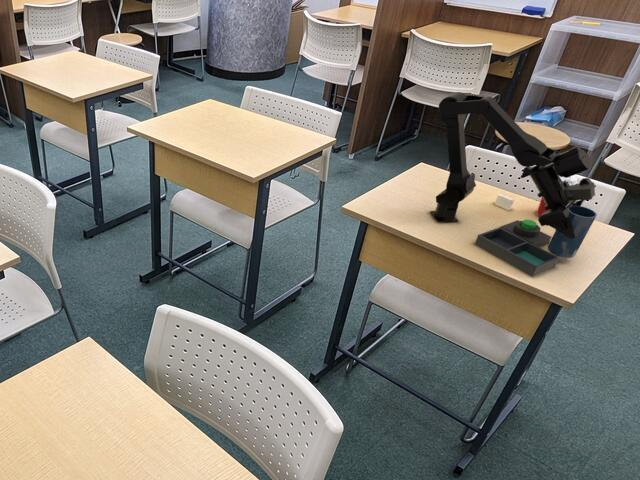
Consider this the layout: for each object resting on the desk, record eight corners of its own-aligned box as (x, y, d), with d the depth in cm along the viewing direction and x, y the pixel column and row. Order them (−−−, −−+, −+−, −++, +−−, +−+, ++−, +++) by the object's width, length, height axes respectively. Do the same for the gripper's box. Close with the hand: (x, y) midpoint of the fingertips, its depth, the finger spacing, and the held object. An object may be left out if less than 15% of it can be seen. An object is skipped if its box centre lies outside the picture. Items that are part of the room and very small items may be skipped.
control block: (497, 232, 168) (502, 221, 166) (515, 226, 171) (519, 214, 169) (531, 249, 160) (536, 238, 158) (548, 243, 163) (554, 231, 161)
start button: (517, 226, 164) (520, 221, 163) (525, 223, 165) (528, 218, 164) (529, 231, 162) (531, 226, 161) (537, 228, 163) (539, 223, 162)
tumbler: (542, 244, 158) (561, 205, 150) (565, 244, 158) (586, 205, 150) (556, 258, 152) (577, 217, 145) (580, 258, 152) (602, 217, 145)
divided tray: (474, 244, 163) (478, 234, 161) (495, 236, 166) (499, 226, 164) (532, 277, 150) (537, 267, 148) (554, 267, 153) (559, 257, 151)
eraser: (496, 203, 183) (500, 193, 181) (510, 209, 179) (514, 199, 177) (494, 204, 182) (497, 194, 180) (508, 210, 179) (512, 200, 177)
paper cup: (563, 222, 172) (583, 182, 164) (537, 220, 173) (555, 180, 165) (554, 210, 178) (572, 171, 170) (528, 208, 180) (545, 169, 171)
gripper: (571, 183, 138) (601, 237, 138) (592, 161, 149) (620, 210, 149) (525, 200, 148) (554, 250, 148) (548, 178, 158) (575, 224, 158)
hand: (577, 233), depth 150 cm, fingers closed on tumbler, 7 cm apart
